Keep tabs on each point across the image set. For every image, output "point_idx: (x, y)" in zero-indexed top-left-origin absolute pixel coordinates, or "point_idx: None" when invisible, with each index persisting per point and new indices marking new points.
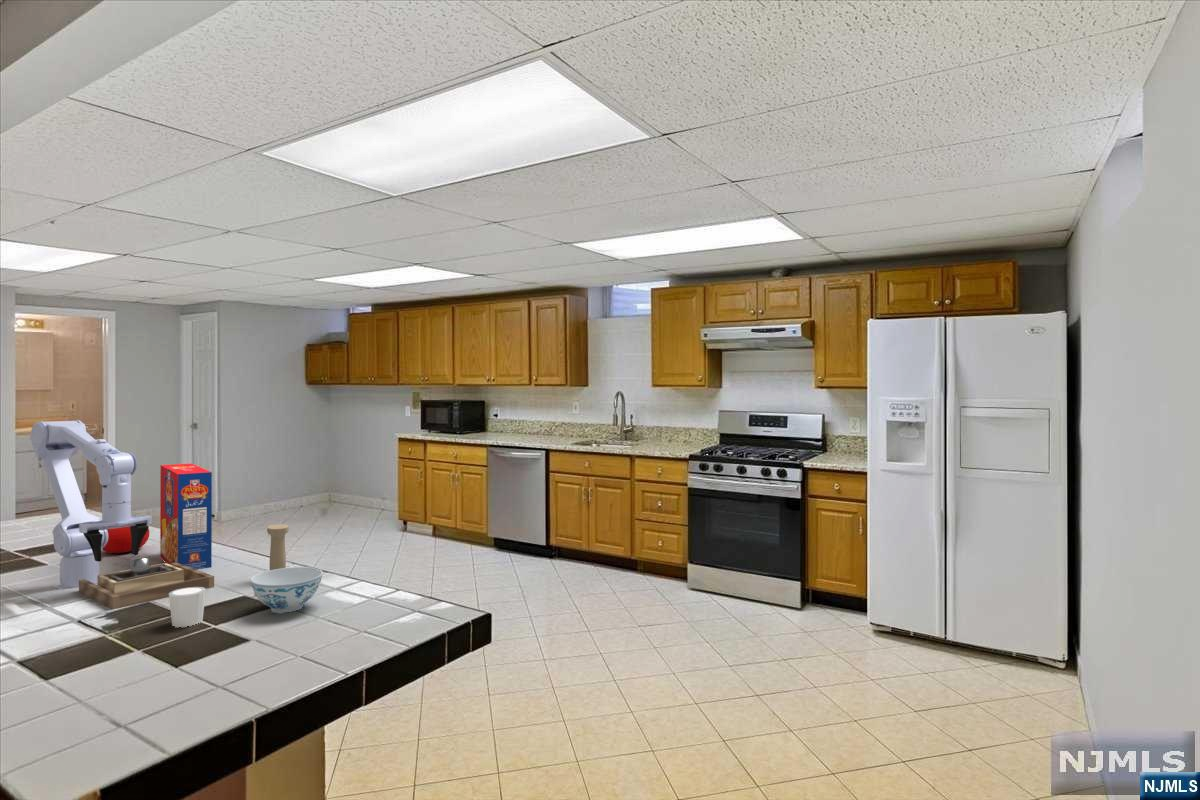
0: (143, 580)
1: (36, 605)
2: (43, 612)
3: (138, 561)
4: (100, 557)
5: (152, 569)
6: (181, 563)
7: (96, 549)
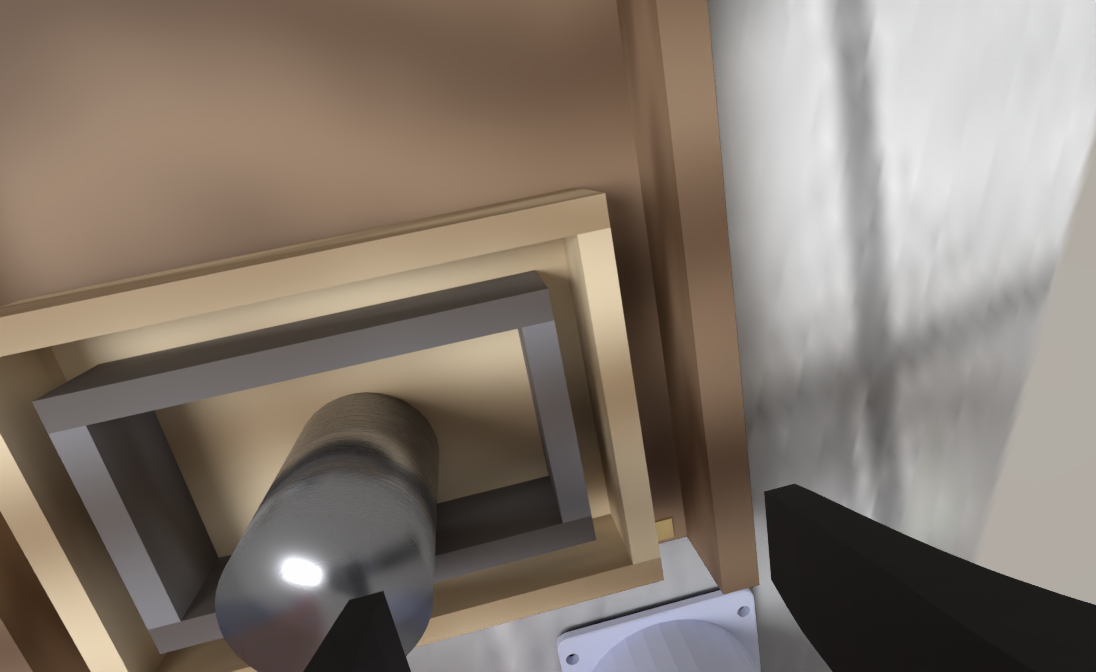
0: (348, 242)
1: (901, 456)
2: (917, 271)
3: (355, 505)
4: (802, 505)
5: None
6: None
7: (955, 561)
